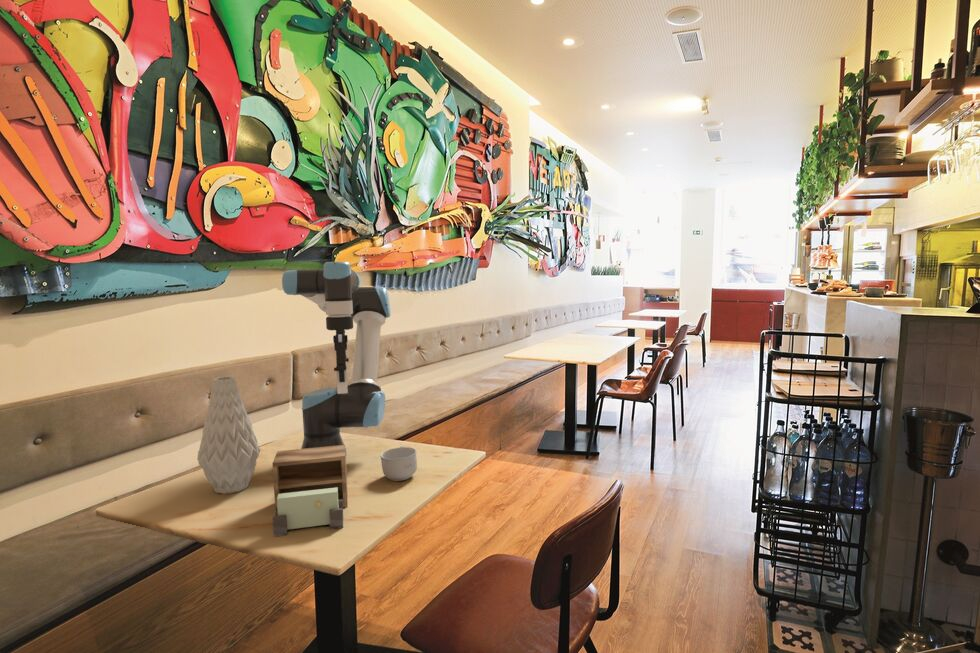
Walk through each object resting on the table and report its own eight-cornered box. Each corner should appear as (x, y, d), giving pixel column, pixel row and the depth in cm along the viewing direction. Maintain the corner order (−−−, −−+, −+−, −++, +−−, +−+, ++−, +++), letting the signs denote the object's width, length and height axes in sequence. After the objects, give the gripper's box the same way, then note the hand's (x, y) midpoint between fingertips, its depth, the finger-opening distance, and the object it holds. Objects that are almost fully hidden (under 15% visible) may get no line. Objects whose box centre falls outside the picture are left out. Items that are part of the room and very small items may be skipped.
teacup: (410, 485, 162) (409, 458, 162) (375, 483, 165) (374, 456, 164) (425, 468, 176) (424, 443, 175) (393, 466, 178) (392, 442, 177)
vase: (191, 489, 163) (182, 379, 160) (248, 473, 175) (241, 370, 171) (211, 505, 151) (202, 386, 148) (271, 487, 163) (264, 377, 160)
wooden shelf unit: (280, 500, 153) (277, 451, 152) (347, 492, 158) (345, 444, 156) (269, 537, 132) (265, 480, 130) (347, 527, 136) (344, 471, 135)
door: (280, 525, 137) (278, 493, 136) (339, 517, 140) (337, 487, 139) (278, 532, 133) (276, 500, 132) (338, 524, 136) (337, 493, 136)
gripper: (327, 313, 171) (330, 381, 173) (323, 319, 146) (327, 398, 149) (352, 312, 172) (355, 379, 175) (353, 318, 148) (356, 396, 150)
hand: (342, 388), depth 162 cm, fingers open, 13 cm apart
